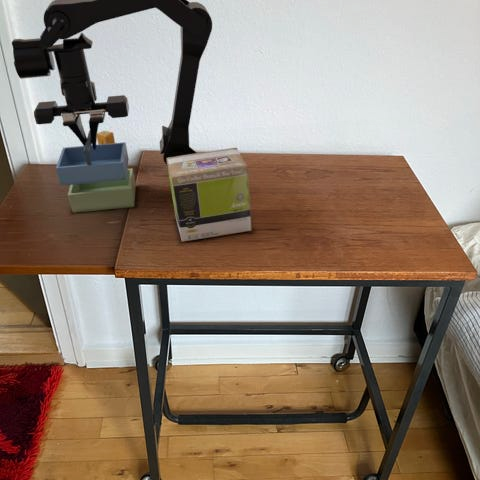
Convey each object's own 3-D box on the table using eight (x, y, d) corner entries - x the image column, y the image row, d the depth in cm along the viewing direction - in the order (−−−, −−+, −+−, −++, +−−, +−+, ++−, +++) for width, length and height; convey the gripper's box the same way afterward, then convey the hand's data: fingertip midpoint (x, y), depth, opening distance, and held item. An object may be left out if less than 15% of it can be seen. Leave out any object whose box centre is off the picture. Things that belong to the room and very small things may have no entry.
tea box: (241, 210, 119) (238, 145, 110) (251, 232, 112) (249, 165, 102) (174, 219, 117) (165, 155, 108) (180, 243, 110) (171, 176, 100)
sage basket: (135, 185, 131) (132, 168, 128) (134, 206, 123) (130, 188, 120) (78, 191, 130) (73, 173, 127) (72, 212, 122) (67, 194, 119)
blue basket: (128, 158, 123) (122, 127, 119) (126, 180, 115) (119, 146, 110) (67, 164, 123) (59, 132, 118) (60, 186, 114) (51, 152, 109)
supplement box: (121, 170, 138) (114, 131, 132) (112, 175, 136) (104, 136, 130) (112, 167, 140) (104, 129, 133) (103, 172, 138) (94, 134, 131)
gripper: (123, 59, 113) (135, 132, 123) (33, 66, 112) (53, 139, 122) (120, 74, 104) (134, 151, 115) (23, 82, 103) (45, 159, 113)
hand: (91, 149), depth 116 cm, fingers closed on blue basket
